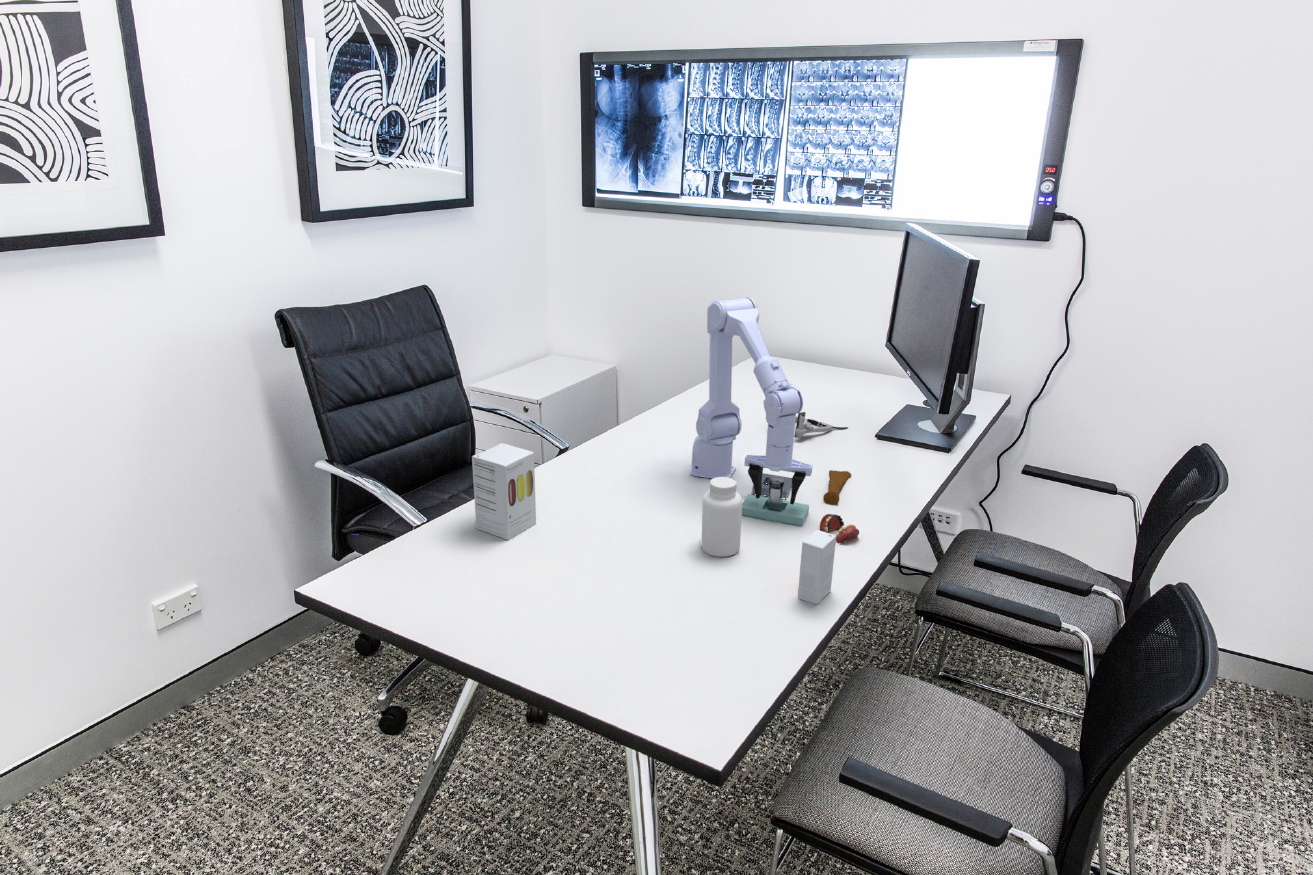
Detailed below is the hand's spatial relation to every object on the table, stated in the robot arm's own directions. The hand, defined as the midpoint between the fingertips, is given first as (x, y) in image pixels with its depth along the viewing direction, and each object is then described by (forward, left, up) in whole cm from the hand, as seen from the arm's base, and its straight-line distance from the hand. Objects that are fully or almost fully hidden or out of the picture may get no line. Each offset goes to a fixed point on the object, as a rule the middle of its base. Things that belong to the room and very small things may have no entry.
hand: (775, 499), depth 187 cm
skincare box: (+14, -29, -4) cm, 33 cm away
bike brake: (-3, +54, -4) cm, 54 cm away
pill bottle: (-7, -19, -4) cm, 21 cm away
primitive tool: (+10, +19, -4) cm, 22 cm away
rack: (0, 0, -4) cm, 4 cm away
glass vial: (0, 0, -3) cm, 3 cm away
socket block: (-3, +12, -4) cm, 13 cm away
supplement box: (-52, -27, -4) cm, 59 cm away
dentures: (+15, -4, -4) cm, 16 cm away
